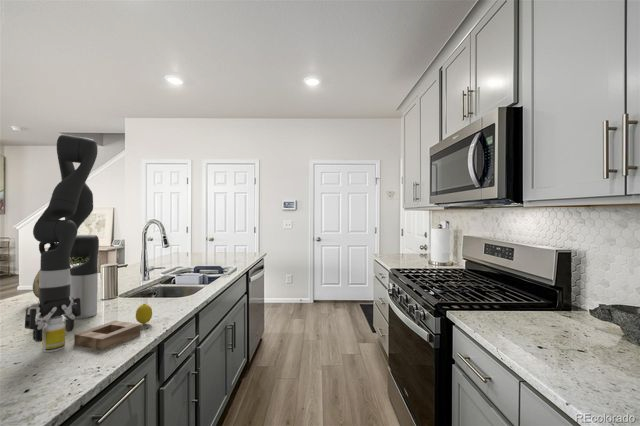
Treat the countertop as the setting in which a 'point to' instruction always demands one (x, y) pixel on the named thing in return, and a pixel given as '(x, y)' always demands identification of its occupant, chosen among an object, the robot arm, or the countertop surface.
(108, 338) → the block
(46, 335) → the supplement bottle
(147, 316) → the lemon
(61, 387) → the countertop surface
